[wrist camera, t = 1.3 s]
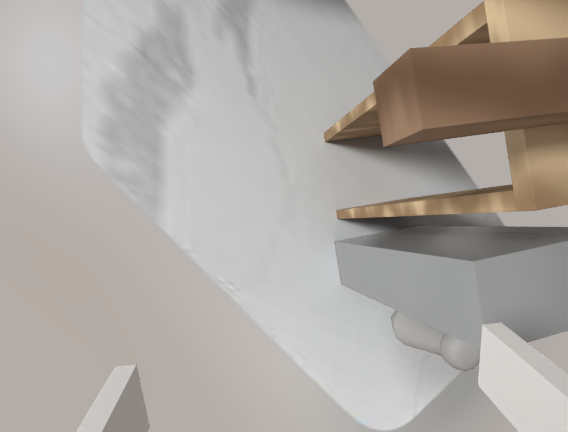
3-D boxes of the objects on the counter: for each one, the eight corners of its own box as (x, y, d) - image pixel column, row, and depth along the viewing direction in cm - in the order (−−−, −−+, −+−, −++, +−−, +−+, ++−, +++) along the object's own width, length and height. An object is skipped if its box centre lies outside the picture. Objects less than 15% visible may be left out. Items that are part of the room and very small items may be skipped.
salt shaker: (426, 304, 50) (498, 332, 37) (417, 343, 50) (487, 385, 37) (390, 296, 49) (452, 321, 36) (381, 336, 49) (440, 375, 36)
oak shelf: (323, 133, 48) (501, -14, 18) (395, 124, 50) (656, -19, 20) (337, 218, 48) (536, 210, 18) (408, 206, 50) (686, 181, 21)
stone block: (334, 241, 48) (473, 261, 22) (417, 225, 50) (628, 227, 25) (341, 284, 48) (488, 353, 22) (424, 266, 50) (641, 309, 25)
